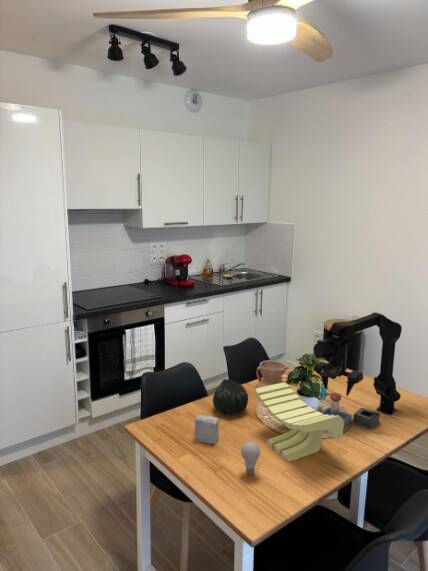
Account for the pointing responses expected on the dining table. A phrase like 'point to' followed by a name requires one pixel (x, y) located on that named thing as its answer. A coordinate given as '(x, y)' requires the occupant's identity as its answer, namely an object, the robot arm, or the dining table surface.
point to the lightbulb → (250, 455)
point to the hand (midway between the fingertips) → (336, 392)
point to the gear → (323, 391)
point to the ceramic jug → (271, 373)
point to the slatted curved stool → (296, 422)
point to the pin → (335, 403)
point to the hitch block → (366, 418)
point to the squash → (230, 398)
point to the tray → (343, 415)
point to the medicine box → (206, 429)
